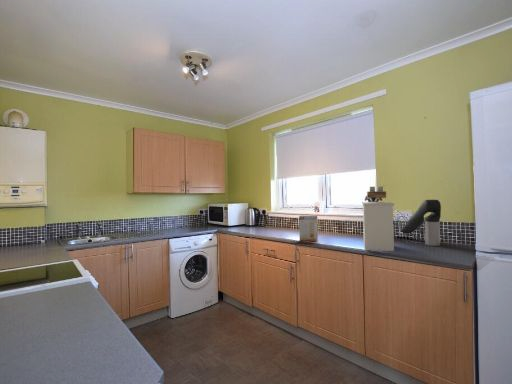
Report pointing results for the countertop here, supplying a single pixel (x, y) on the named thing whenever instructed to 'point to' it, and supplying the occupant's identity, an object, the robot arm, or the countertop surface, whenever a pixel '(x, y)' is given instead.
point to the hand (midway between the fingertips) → (373, 193)
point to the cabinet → (378, 226)
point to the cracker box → (308, 228)
